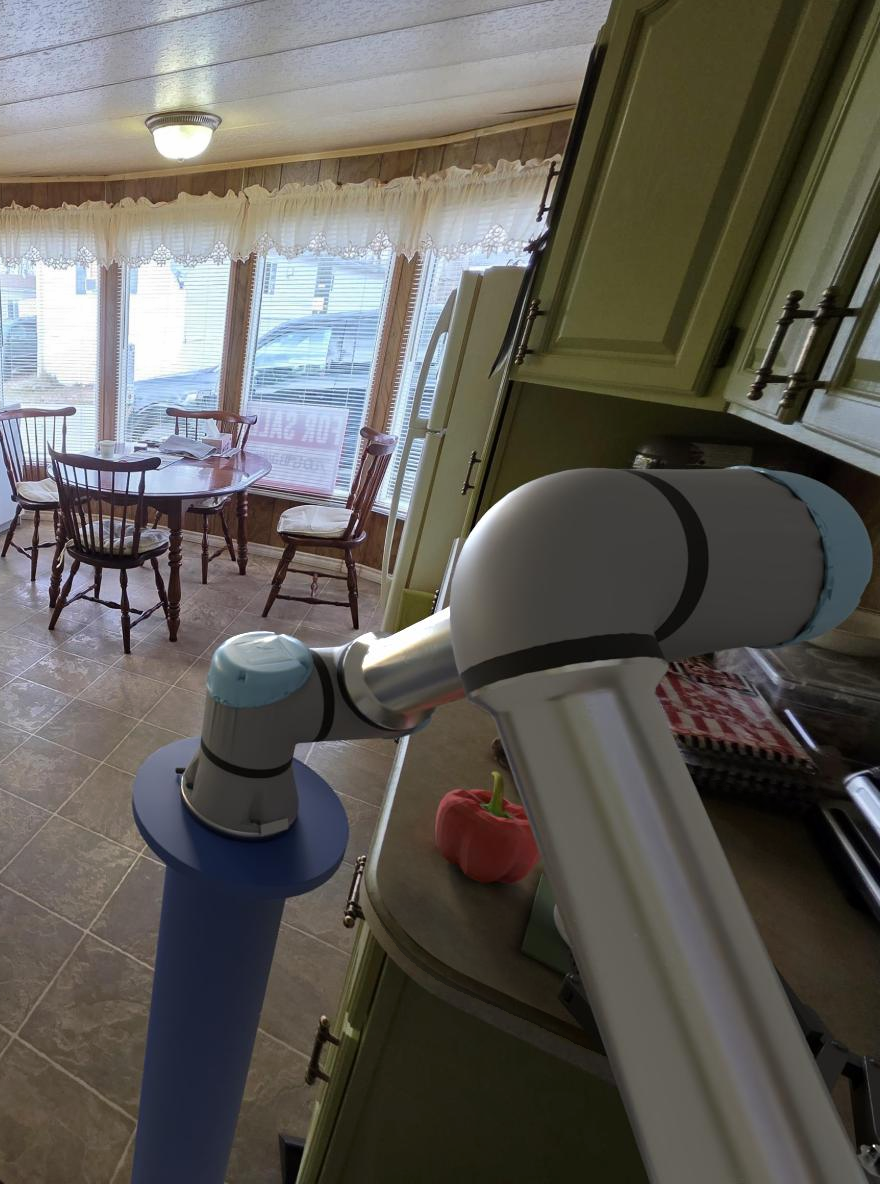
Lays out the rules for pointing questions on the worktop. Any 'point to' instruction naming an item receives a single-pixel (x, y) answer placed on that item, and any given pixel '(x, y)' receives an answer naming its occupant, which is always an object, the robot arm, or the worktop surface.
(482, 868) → the vegetable
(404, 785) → the worktop surface
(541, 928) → the coaster
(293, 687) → the robot arm
